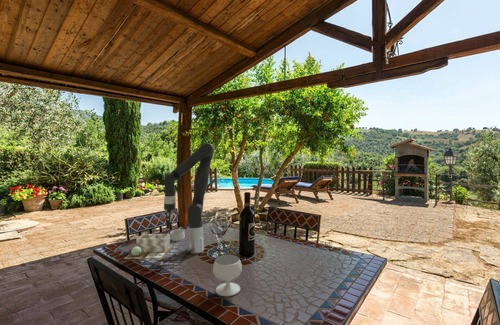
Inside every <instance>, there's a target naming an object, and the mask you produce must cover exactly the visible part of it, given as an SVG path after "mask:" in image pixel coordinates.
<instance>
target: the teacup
mask: <svg viewBox="0 0 500 325" xmlns="http://www.w3.org/2000/svg"><path fill="white" fill-rule="evenodd" d="M169 234H170V241H172V242H181V241H184V240H185V229H184V228H177V229H173V230H171V231H170V232H169Z"/></svg>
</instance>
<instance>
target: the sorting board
mask: <svg viewBox="0 0 500 325" xmlns="http://www.w3.org/2000/svg"><path fill="white" fill-rule="evenodd" d="M136 246H138V247H140V248H141V254H140V255H138V256H133V255H132V253H131V252H130V253H129V254H128V255H126V257H124V258H123V260H163V259H164V258H165V257H166V256H167V255H168V254H169V253H170V252H171V250H172V249H173V248H174V247H175V246H176V245H171V237H170V233H143V234H141V235H139V236H138V237H137V238H135V247H136Z"/></svg>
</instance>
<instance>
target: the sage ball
mask: <svg viewBox="0 0 500 325" xmlns="http://www.w3.org/2000/svg"><path fill="white" fill-rule="evenodd" d="M131 253H132V255H133V256H138V255H140V254H141V248H140V247H138V246H136V245H135V246H134V247H133V248H132V249H131V252H130V254H131Z"/></svg>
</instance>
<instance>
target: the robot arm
mask: <svg viewBox="0 0 500 325" xmlns="http://www.w3.org/2000/svg"><path fill="white" fill-rule="evenodd" d="M214 153H215V146H214V145H213V144H212V143H210V142H204V143H201V145H200V146H199V147H198V149H197V150H196V151H195V152H194V153H193V154H191V155H190V156H189V157H188V158H186V159H185V160H184V161H182V162H181V163H180V164H178V165H177V166H176V167H175V169H173V170H171V171H170V172H169V173H166V174H165V175H164V176H163V177H164V178H163V185H164V198H163V210H165V211H166V212H165V223H166V225H165V226H166V229H171V225H172V224H173V217H174V211H175V210H176V207H177V206H176V204H177V201H176V200H177V199H176V193H177V192H176V187H175V182H177V181H178V180H179V179H180V178H181V177H183V176H184V175H185V174H187V172H189V171H191V169H193V168H194V167H195V165H196V164H197V163H199V164H198V167H197V169H196V172H195V175H194V181H193V196H192V201H191V204H190V205H189V206H188V208H187V224H188V242H189V243H188V244H189V245H188V246H189V253H190V254H200V253H201V254H202V253H203V252H204V251H205V241H204V240H205V236H204V229H203V228H204V226H203V220H202V212H203V210H204V199H205V198H204V197H205V194H206V191H207V187H208V183H209V178H210V171H211V163H212V159H213V155H214Z"/></svg>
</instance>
